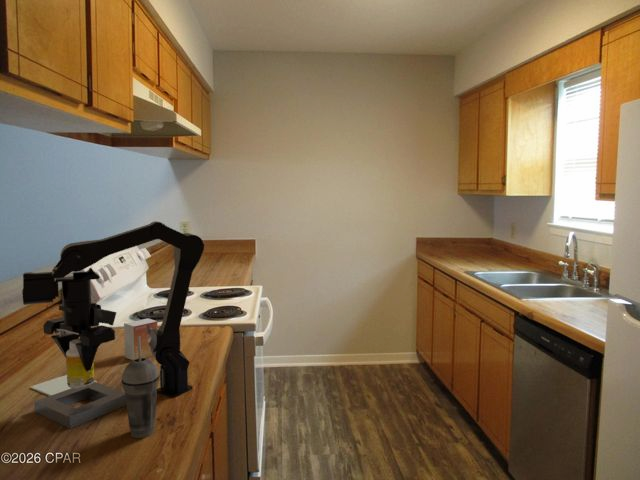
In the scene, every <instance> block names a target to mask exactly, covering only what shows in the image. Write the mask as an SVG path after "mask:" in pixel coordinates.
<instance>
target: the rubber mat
mask: <svg viewBox="0 0 640 480" xmlns="http://www.w3.org/2000/svg"><path fill="white" fill-rule="evenodd" d="M94 382H97V383H98V381H97V380H94ZM30 389H32V390H34V391H36V392H39V393H41V394H43V395H46V396H47V397H48V396H51V395H54V394H57V393H60V392H62V391H65V390H68V389H71V388H70V387H68V385H67V374H65V375H62V376H59V377H56V378H53V379H49V380H46V381H44V382H43V381H42V382H40V383H37V384H34V385H31V386H30Z"/></svg>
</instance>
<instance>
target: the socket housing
mask: <svg viewBox="0 0 640 480" xmlns="http://www.w3.org/2000/svg"><path fill="white" fill-rule="evenodd" d="M86 399H91V400H93V401H90V402H88V403H86V404H83V405H80V406H78V407H74V406H71V405H73V404H76V403H79V402H81V401H84V400H86ZM33 403H34V404H33V405H34V407H33V408H34V413H35V414H38V415H40V416H42V417H43V418H44V417H45V418H46V419H49V420H51V421H52V422H55V423H58V424H60V425H61V426H64V427H66V428H68V429H73V428H75V427H79V425H82V424H86V423H88V422H90V421H92V420H94V419H97V418H99V417H101V416H104V415H106V414H108V413H111V412H113V411H115V410H117V409H119V408H123V407H125V406H127V405H126V397H125V392H124V391H121V390H119V389H116V388H114V387H110V386H107V385H105V384H102V383H99V382H98V381H97V382H94V383H93V384H92V385H90V386H88V387H84V388H78V389H74V388H71V389H68V390H65V391H62V392H60V393H57V394H54V395H51V396H48V395H47V396H45V397H42V398H41V399H37V400H35V401H33Z"/></svg>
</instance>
